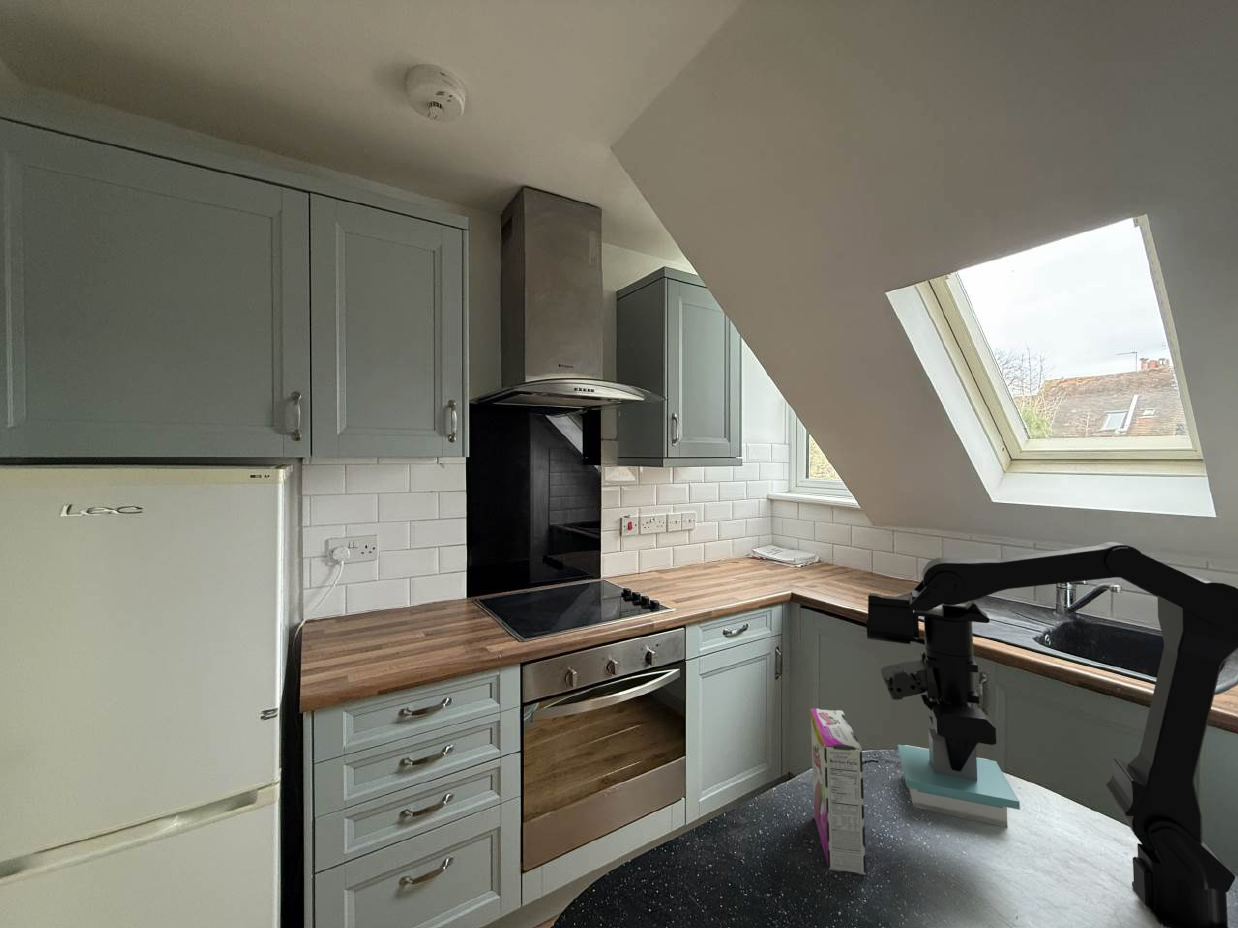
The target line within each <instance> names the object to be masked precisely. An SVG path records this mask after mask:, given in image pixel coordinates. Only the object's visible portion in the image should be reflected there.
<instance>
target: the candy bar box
mask: <svg viewBox="0 0 1238 928" xmlns="http://www.w3.org/2000/svg"><path fill="white" fill-rule="evenodd" d="M810 730H811V731H810V733H811V735H810V738H811V757H812V759H811V760H812V762H811V763H812V765H811V766H812V789H813V791H812V793H813V817H814V820H815V824H816V828H817V831H818V835H819V839H820V842H821V845H822V849H823V852H824V857H825V860H826V863H827V869H828V870H829V871H832V872H835V873H836V872H839V873H846V874H854V875H855V874H856V875H860V876H861V875H862V876H866V875H867V863H866V862H867V861H866V860H867V859H866V856H867V855H866V830H865V829H866V828H865V826H866V825H865V824H866V823H865V800H864V798H865V797H864V773H863V772H864V771H863V749H862V746H861V744H860V742H859V740H858V738H857V736H856V734H855V732H854V730H853V728H852V726H851V724H850V722H849V720H848V718H847V717H846V714H845V713H844V711H843V710H842V709H841V710H840V709H827V708H826V709H825V708H820V707H818V708H810Z"/></svg>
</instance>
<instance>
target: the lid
mask: <svg viewBox="0 0 1238 928" xmlns="http://www.w3.org/2000/svg"><path fill="white" fill-rule="evenodd" d="M910 746H911V745H908V746H905V744H904V745H903V744H897V752H898V756H899V761H900V765H901V770H902V773H903V777H904V781H905V786H906V788H908V789H909V788H913V789H917V791H918V792H923V793H928V794H933V795H938V796H943V797H948V798H953V799H958V800H963V801H968V802H973V803H978V804H983V805H988V806H993V807H998V808H1003V807H1007V809H1013V810H1014V809H1015V810H1019V811H1020V810H1021V805H1020V804H1021V803H1020V800H1019V798H1018V796H1017V795H1016V793H1015V791H1014V790H1013V787H1011V784H1010V782H1009V781H1008V779H1007V778H1006V776H1005V774H1004V773H1003V771H1002V769H1001V768H1000V766H999V764H998V762H997V761H996V760H991V759H988V760H986V759H987V758H983V759H980V758H981V757H978V756H977V746H976V747H975V748H974V750H973V752H972V753H971V755H970V757H969V758H968V760H967V762H966V763H965V765H964V767H963V769H962V770H961V771H954V770H952V769H951V766H950V762H949V758H948V754H947V749H946V745H945V741H944V737H942V736H940V735H938V734H937V733H936V730H935V728H928V748H925V749H922V748H923V747H919V748H916V747H917V746H914V747H910ZM928 749H929V750H928Z"/></svg>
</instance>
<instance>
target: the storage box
mask: <svg viewBox="0 0 1238 928" xmlns="http://www.w3.org/2000/svg"><path fill="white" fill-rule="evenodd" d="M904 746H910V747H916V748H920V747H918V746H913V745H906V744H904ZM921 748H922V749H926V748H924V747H921ZM927 749H928V750H929V748H927ZM979 758H980V759H984V758H981V757H979ZM985 759H986V760H989V759H988V758H985ZM908 791H909V794H910V799H911V803H912V807H913V808H916V809H921V810H926V811H930V812H934V813H941V814H945V815H948V816H953V817H958V818H962V819H967V820H972V821H976V822H977V821H978V822H981V823H986V824H991V825H996V826H999V827H1005V828H1008V807H1003V808H998V807H993V806H988V805H983V804H978V803H973V802H968V801H963V800H958V799H953V798H948V797H943V796H938V795H933V794H928V793H923V792H918V791H917V789H913V788H908Z"/></svg>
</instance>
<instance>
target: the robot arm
mask: <svg viewBox="0 0 1238 928" xmlns="http://www.w3.org/2000/svg"><path fill="white" fill-rule="evenodd" d="M921 577H922V580H920V582H919V583H918V584H917V585H916V586H915V587H914V588H913V589H912V590H911V592H910V593H909V594H908V597H906V596H903V597H902V596H894V595H893V596H892V595H885V594H882V593H876V592H875V593H874V592H870V593H868V596H867V616H866V621H865V622H866V637H867V640H869V641H875V642H876V641H877V642H885V643H890V644H892V643H893V644H900V645H904V646H905V645H906V646H907V645H908V646H911V643H914V642H915V639H916V640H919V639H920V622H919V617H923V626H924V627H923V629H924V630H923V631H924V648H923V649H922V651H920V659H918V660H913V661H905V662H900V663H897V664H896V663H895V664H891V665H887V666H883V667H882V668H880V674H881V675H882V679H883V682H884V684H885V686H886V689H887V691H888V694H889V696H890V698H891V699H892V700H895V701H899V700H902V699H904V698H906V697H913V696H917V695H920V697H921V700H922V701H923V704H924V705H925V706H926V707H927V708H928V709H929V710H930V711H931V715H930V716H928V717H929V719H930V722H931V724H932V726H933V727H934V728H933V729H935V730H936V733H937V734H938V735H940V736H942V737H944V741H945V745H946V749H947V754H948V758H949V762H950V766H951V769H952V770H954V771H961V770H962V769H963V767H964V765H965V763H966V762H967V760H968V758H969V757H970V755H971V753H972V752H973V750H974V748H975V747H976V748H977V745H978V744H984V745H990V746H994V745H996V744H997V732H996V731H997V730H996V729H997V728H996V727H995V725H994V724H993V722H992V721H991V719H990V717H989V716H988V715H987V714H986V713H985V712H984V711H983V710H982V709H980V707H972V706H971V705H970V704H975V705H976V704H977V705H980V696H979V695H978V694H979V693H978V692H977V691H976V689H975V688H976V687H975V683H976V682H975V673H976V674H978V673H979V667H978V665H979V664H977V662H976V661H975V659H974V658H975V657H974V656H975V655H974V640H973V639H974V636H973V634H974V633H973V623H980V624H981V623H983V624H989V623H990V622H991V620H990V617H989V616H988V615H987V613H986V612H985V611H983V610H982V609H980V608H979V606H978V605H977V604H976V602H975V601H976V600H979V599H983V598H985V597H988V596H990V595H993V594H996V593H998V592H1003V591H1005V590H1012V589H1020V588H1021V589H1023V588H1030V587H1039V586H1041V587H1042V586H1049V585H1057V584H1058V585H1060V584H1068V583H1076V582H1086V581H1087V582H1088V581H1094V580H1103V579H1104V580H1105V579H1113V578H1118V579H1119V578H1121V579H1123V581H1125V582H1128V583H1130V584H1132V585H1134V586H1135V587H1138V588H1139V589H1141V590H1143V591H1144V592H1147V593H1149V594H1151V595H1153V596H1154V597H1156V598H1157V618H1158V624H1159V626H1160V627H1159V628H1160V630H1161V635H1162V639H1163V651H1162V654H1161V658H1160V663H1159V667H1158V671H1157V676H1156V680H1155V684H1154V690H1153V694H1152V697H1151V701H1150V705H1149V711H1148V714H1147V719H1146V723H1145V727H1144V732H1143V735H1142V736H1143V737H1142V741H1141V746H1140V750H1139V752H1138V754H1137V756H1135V758H1134V759H1132V760H1131V761H1129V763H1126V762H1124V761H1123V760H1120V759H1118V758H1113V760H1112V775H1111V778H1110V780H1109V781H1108V782H1107V783H1106V784H1105V786H1106V788H1107V790H1108V791H1109V793H1110V794H1111V796H1112V797H1111V798H1112V802H1113V803H1114V805H1115V807H1116V808H1117V810H1118V812H1119V813H1120V814H1121V816H1122V818H1123V819H1124V821H1125V823H1127V825H1128V827H1129V828H1130V830H1131V832H1132V833H1133V835H1134V837H1135V838H1137V840H1138V841H1139V842H1140V843H1139V842H1138V843H1136V844H1137V845H1136V846H1137V856H1134V857H1132V872H1133V873H1132V874H1133V881H1131V886H1132V889H1133V890H1134V892H1135V893H1136V894H1137V896H1138V897H1139V899H1140V900H1141V902H1142V903H1143V904H1144V905H1145V906H1146V907H1147V909H1148V910H1149V912H1150V913H1151V914H1152V916H1153V917H1154V918H1155V919H1156V920H1157V922H1158V923H1159V924H1160V925H1161V926H1163V927H1165V928H1229V918H1228V899H1227V898H1228V897H1227V892H1229V891H1230V889H1231V888H1232V885H1234V884H1233V883H1234V882H1235V879H1236V876H1235V874H1234V873H1233V872H1232V871H1231V869H1230V868H1229V867H1228V865H1227V864H1226V863H1225V862H1224V861H1223V860H1222V859H1221V857H1220V856H1219V855H1218V854H1217V853H1216V851H1215V850H1214V849H1213V847H1212V846H1211V845H1210V844H1209V843H1208V842H1207V840H1206V839H1205V838H1204V837H1203V818H1202V817H1203V816H1202V812H1201V808H1200V803H1199V800H1198V796H1197V795H1198V794H1197V790H1196V787H1195V778H1196V773H1197V770H1198V764H1199V761H1200V756H1201V753H1202V748H1203V744H1204V739H1205V736H1206V731H1207V728H1208V727H1207V726H1208V723H1209V719H1210V715H1211V712H1212V711H1211V710H1212V707H1213V701H1214V697H1215V693H1216V689H1217V685H1218V681H1219V678H1220V673H1221V668H1222V666H1223V663H1224V662H1225V661H1226V660H1227V659H1229V657H1231V656H1232V655H1233V654H1234V653H1235V652H1237V651H1238V588H1237V587H1236V586H1233V585H1230V584H1227V583H1224V582H1221V581H1218V580H1215V579H1212V578H1209V577H1205V576H1202V575H1198V574H1190V573H1185V572H1182V571H1181V570H1178V569H1176V568H1174V567H1171V566H1169V565H1167V564H1165V563H1163V562H1162V561H1161V562H1160V561H1158V560H1156V559H1154V558H1152V557H1150V556H1148V555H1146V554H1144V553H1142V552H1141V551H1140V550H1139V549H1137V548H1135V547H1133V546H1130V545H1127V544H1123V543H1120V542H1116V541H1108V542H1103V543H1101V544H1097V545H1091V546H1085V547H1084V546H1083V547H1077V548H1069V549H1063V550H1062V549H1061V550H1054V551H1046V552H1045V551H1044V552H1039V553H1032V554H1024V555H1016V556H1010V557H1000V558H977V557H976V558H974V557H947V556H945V557H943V556H942V557H936V558H933V559H931V560H930V561H928V562H927V563H926V564H925V565H924V567H923V568H922V573H921ZM964 603H967V604H965V605H961V604H964ZM939 606H941V608H938V607H939ZM925 693H926V694H925Z"/></svg>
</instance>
